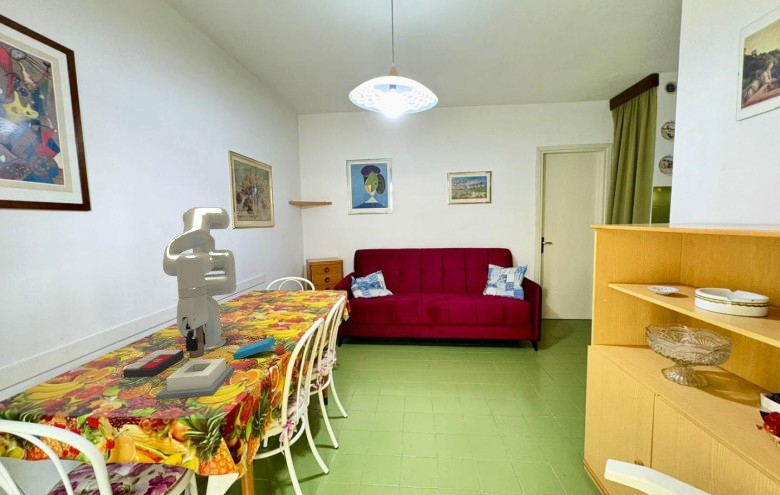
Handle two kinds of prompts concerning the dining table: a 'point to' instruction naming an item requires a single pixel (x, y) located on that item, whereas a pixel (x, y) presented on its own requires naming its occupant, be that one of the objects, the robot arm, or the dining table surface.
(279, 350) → the lever
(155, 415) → the dining table surface
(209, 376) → the socket block
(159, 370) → the black red box
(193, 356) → the walnut peg
